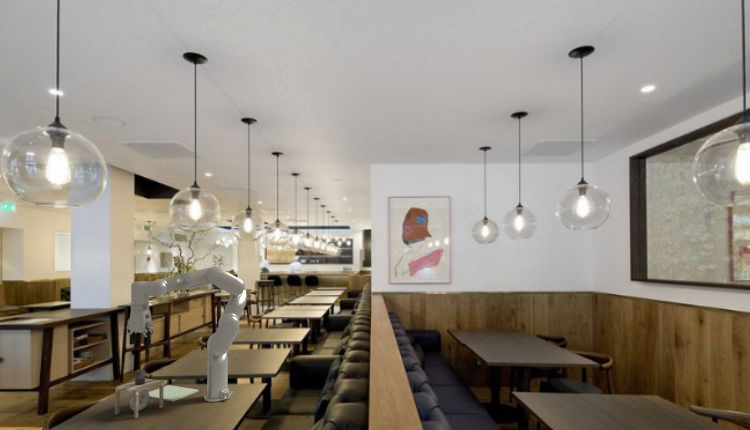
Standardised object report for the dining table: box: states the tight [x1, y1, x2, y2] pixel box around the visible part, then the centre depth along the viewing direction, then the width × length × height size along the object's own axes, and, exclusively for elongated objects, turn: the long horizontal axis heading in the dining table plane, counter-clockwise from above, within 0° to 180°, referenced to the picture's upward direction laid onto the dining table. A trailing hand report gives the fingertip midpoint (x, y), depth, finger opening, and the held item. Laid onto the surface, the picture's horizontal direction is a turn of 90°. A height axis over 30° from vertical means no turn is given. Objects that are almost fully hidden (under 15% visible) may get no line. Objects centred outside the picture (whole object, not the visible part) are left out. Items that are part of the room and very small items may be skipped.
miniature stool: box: [114, 369, 165, 419], centre depth 198 cm, size 14×14×18 cm
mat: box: [148, 384, 199, 403], centre depth 219 cm, size 22×16×1 cm
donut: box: [129, 389, 150, 412], centre depth 197 cm, size 10×4×10 cm, turn 162°
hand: (140, 344), depth 199 cm, fingers open, 9 cm apart
